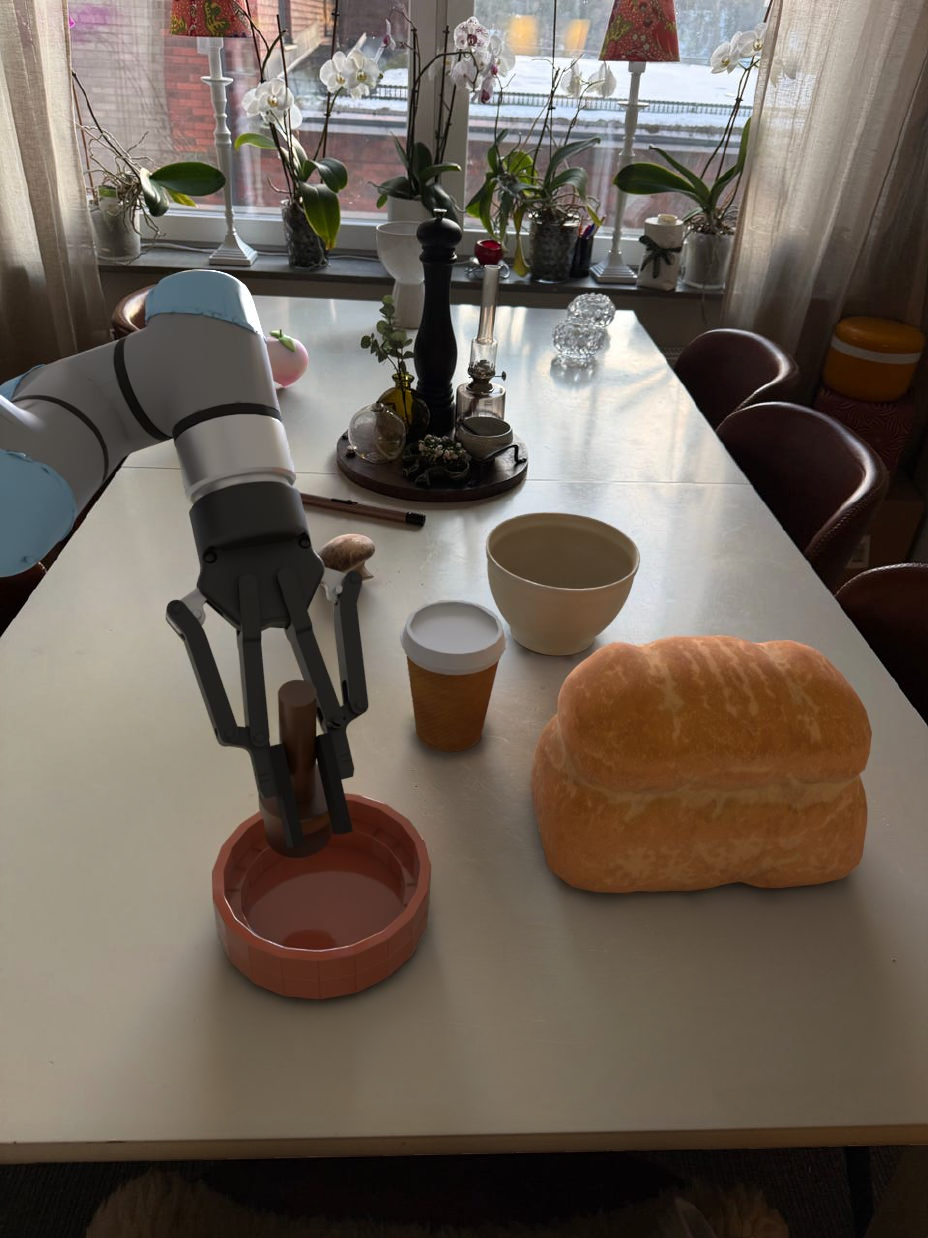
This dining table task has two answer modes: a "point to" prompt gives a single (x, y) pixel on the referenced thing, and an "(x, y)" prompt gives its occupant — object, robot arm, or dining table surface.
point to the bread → (702, 768)
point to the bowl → (324, 904)
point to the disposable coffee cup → (452, 670)
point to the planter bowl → (559, 578)
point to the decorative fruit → (286, 358)
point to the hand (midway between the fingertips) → (319, 838)
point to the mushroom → (348, 554)
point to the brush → (299, 773)
